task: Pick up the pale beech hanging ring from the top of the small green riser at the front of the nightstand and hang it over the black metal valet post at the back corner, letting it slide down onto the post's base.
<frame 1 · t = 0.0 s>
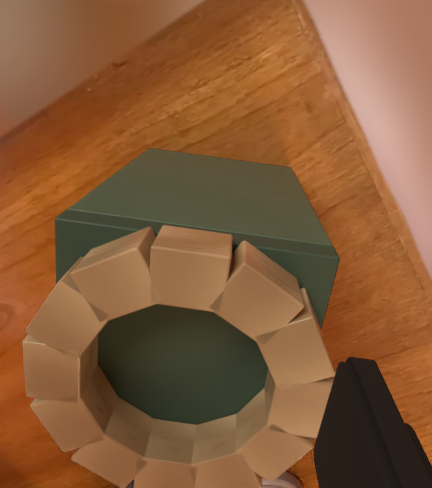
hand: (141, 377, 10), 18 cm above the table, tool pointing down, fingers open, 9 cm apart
ring: (183, 356, 15), point 14 cm above the table, touching riser
riser: (211, 225, 28), on the table
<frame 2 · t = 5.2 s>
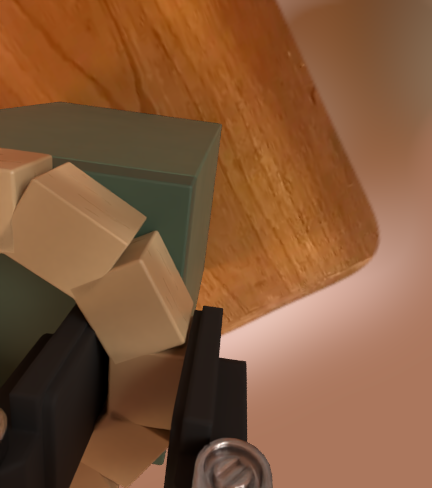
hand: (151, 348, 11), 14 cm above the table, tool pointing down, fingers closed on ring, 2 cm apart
ring: (18, 325, 11), point 14 cm above the table, touching gripper, riser
riser: (135, 192, 24), on the table
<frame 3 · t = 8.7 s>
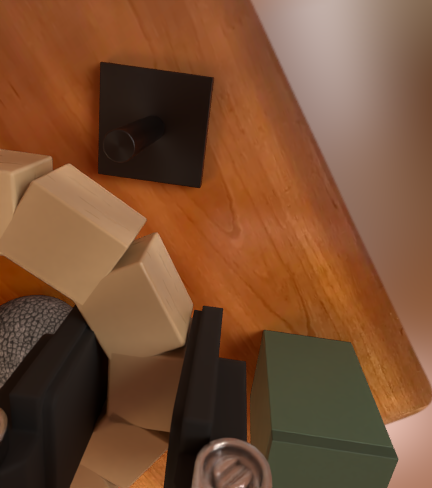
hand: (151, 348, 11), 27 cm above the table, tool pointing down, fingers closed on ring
ring: (17, 326, 11), point 27 cm above the table, touching gripper
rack: (155, 126, 35), on the table
riser: (298, 371, 44), on the table
decorative ball: (56, 319, 44), on the table
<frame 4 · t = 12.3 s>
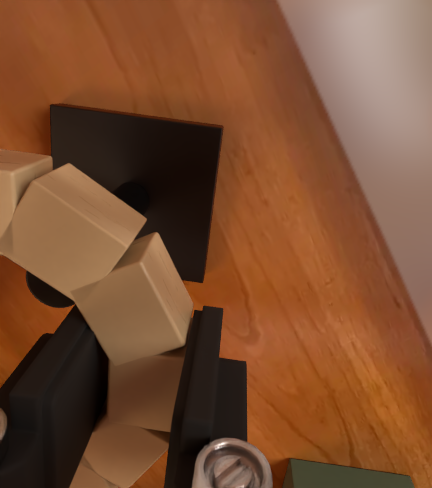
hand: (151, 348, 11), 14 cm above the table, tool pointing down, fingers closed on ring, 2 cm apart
ring: (17, 326, 11), point 14 cm above the table, touching gripper
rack: (136, 194, 24), on the table
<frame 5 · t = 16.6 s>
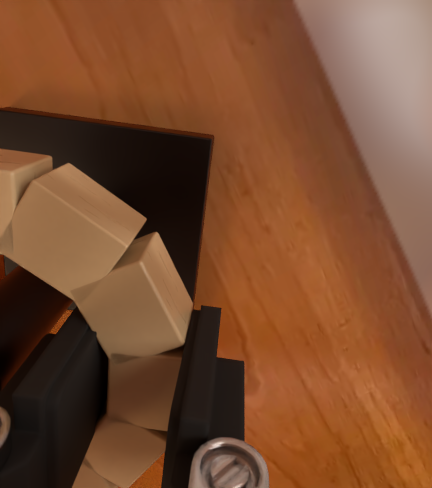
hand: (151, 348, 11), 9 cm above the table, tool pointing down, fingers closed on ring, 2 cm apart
ring: (17, 326, 11), point 9 cm above the table, touching gripper
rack: (108, 219, 20), on the table
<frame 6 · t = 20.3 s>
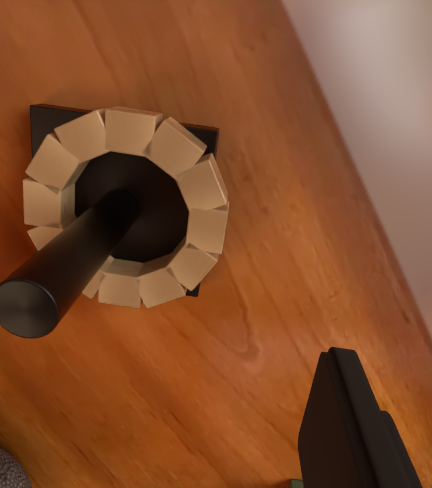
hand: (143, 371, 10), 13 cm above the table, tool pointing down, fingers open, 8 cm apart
ring: (133, 207, 21), point 1 cm above the table, touching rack
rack: (126, 202, 22), on the table
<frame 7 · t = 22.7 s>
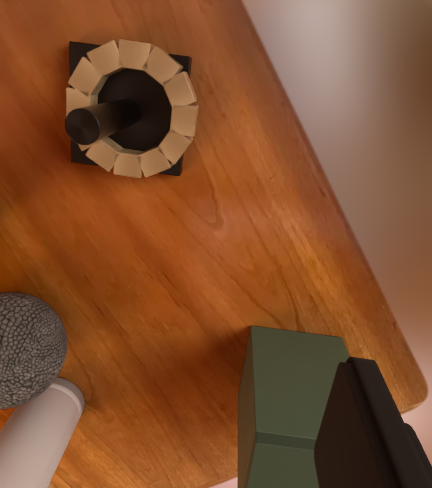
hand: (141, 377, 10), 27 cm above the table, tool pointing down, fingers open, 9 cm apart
ring: (136, 110, 32), point 1 cm above the table, touching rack
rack: (131, 111, 33), on the table
riser: (288, 368, 42), on the table
decorative ball: (34, 317, 42), on the table
travel mug: (56, 397, 45), on the table
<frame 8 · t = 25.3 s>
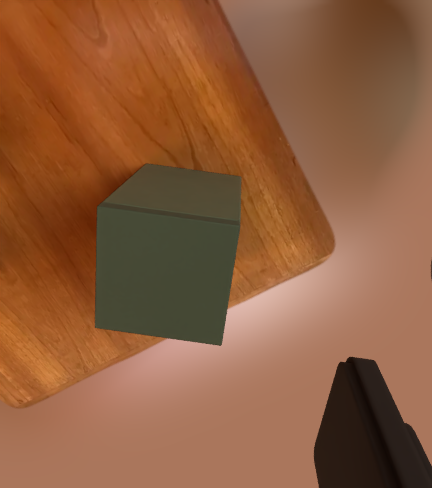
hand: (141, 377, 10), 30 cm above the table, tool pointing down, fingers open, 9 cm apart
riser: (188, 215, 40), on the table
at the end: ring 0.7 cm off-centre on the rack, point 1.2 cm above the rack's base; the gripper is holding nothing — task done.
